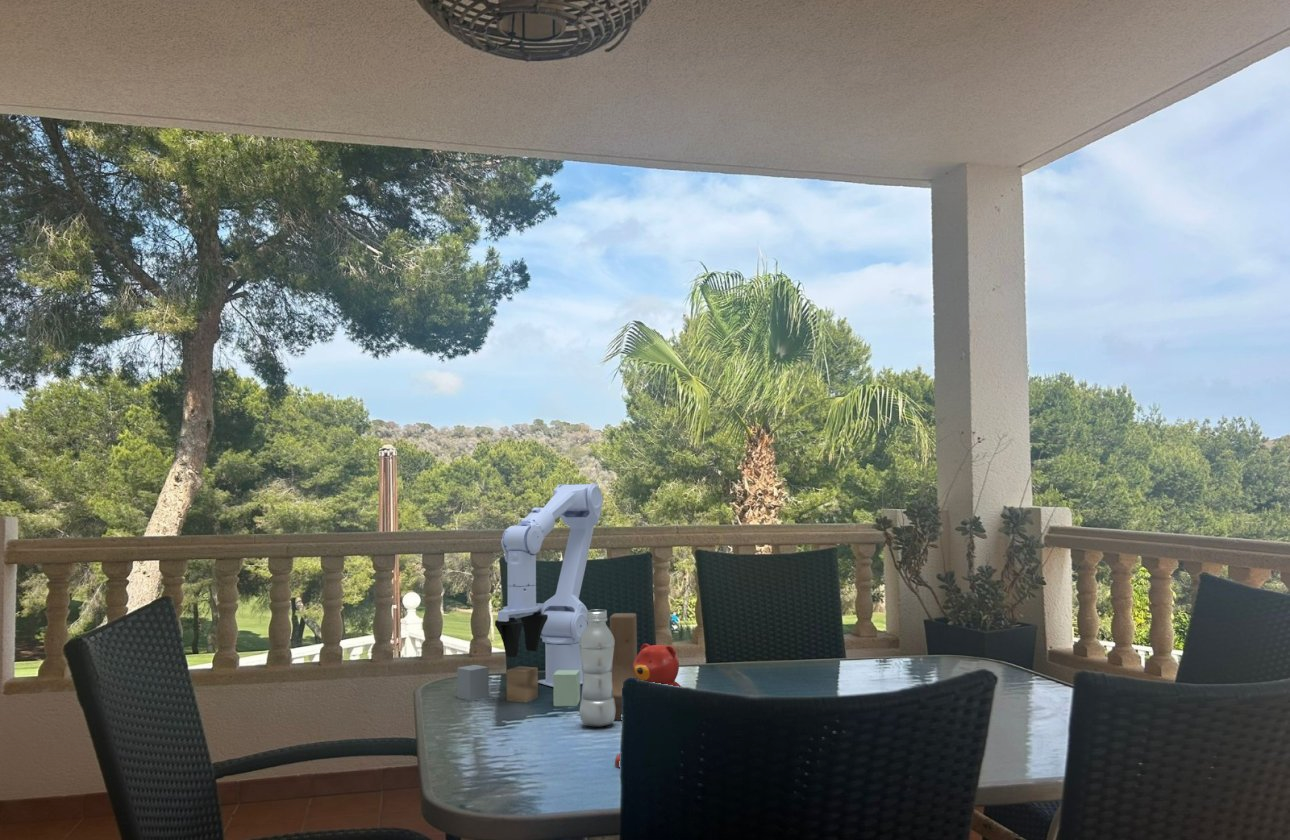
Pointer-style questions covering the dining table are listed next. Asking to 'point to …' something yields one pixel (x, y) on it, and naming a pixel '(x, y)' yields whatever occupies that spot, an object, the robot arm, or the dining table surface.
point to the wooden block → (623, 653)
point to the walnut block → (522, 684)
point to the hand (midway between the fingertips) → (522, 653)
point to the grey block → (472, 682)
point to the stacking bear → (655, 667)
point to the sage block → (566, 687)
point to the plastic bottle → (597, 671)
